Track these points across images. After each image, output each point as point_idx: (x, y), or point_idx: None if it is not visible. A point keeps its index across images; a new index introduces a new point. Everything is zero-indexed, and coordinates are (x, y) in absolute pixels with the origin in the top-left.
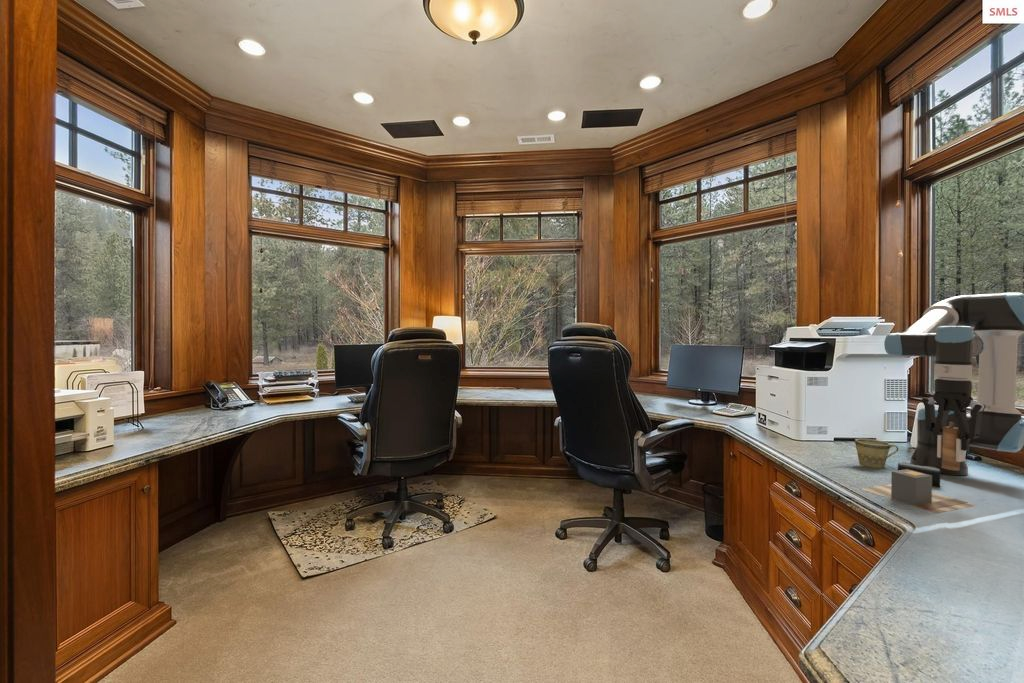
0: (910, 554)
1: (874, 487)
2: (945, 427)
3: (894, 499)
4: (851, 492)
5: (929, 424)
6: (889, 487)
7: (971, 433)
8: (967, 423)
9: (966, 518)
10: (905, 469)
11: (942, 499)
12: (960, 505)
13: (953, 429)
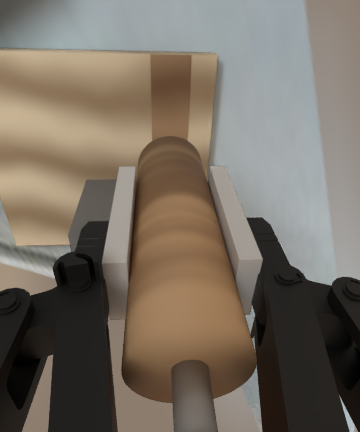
0: (252, 375)
1: (7, 200)
2: (166, 400)
3: None
4: (17, 256)
5: (22, 402)
6: (9, 153)
7: (341, 366)
8: (340, 418)
9: (233, 174)
10: (70, 244)
11: (143, 110)
12: (196, 117)
13: (223, 387)
